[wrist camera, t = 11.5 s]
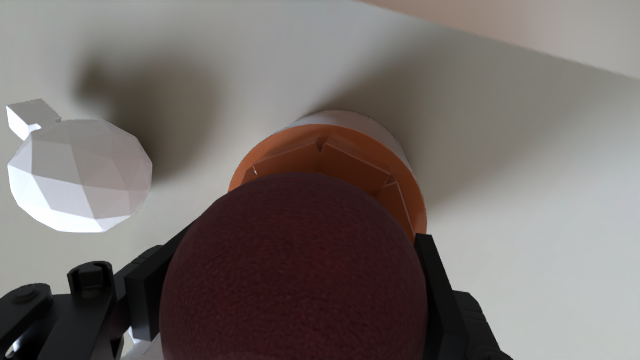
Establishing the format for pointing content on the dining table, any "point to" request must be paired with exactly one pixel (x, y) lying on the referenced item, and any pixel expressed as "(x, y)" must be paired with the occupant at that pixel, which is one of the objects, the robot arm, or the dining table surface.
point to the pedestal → (343, 161)
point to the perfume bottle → (75, 169)
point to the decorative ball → (294, 277)
